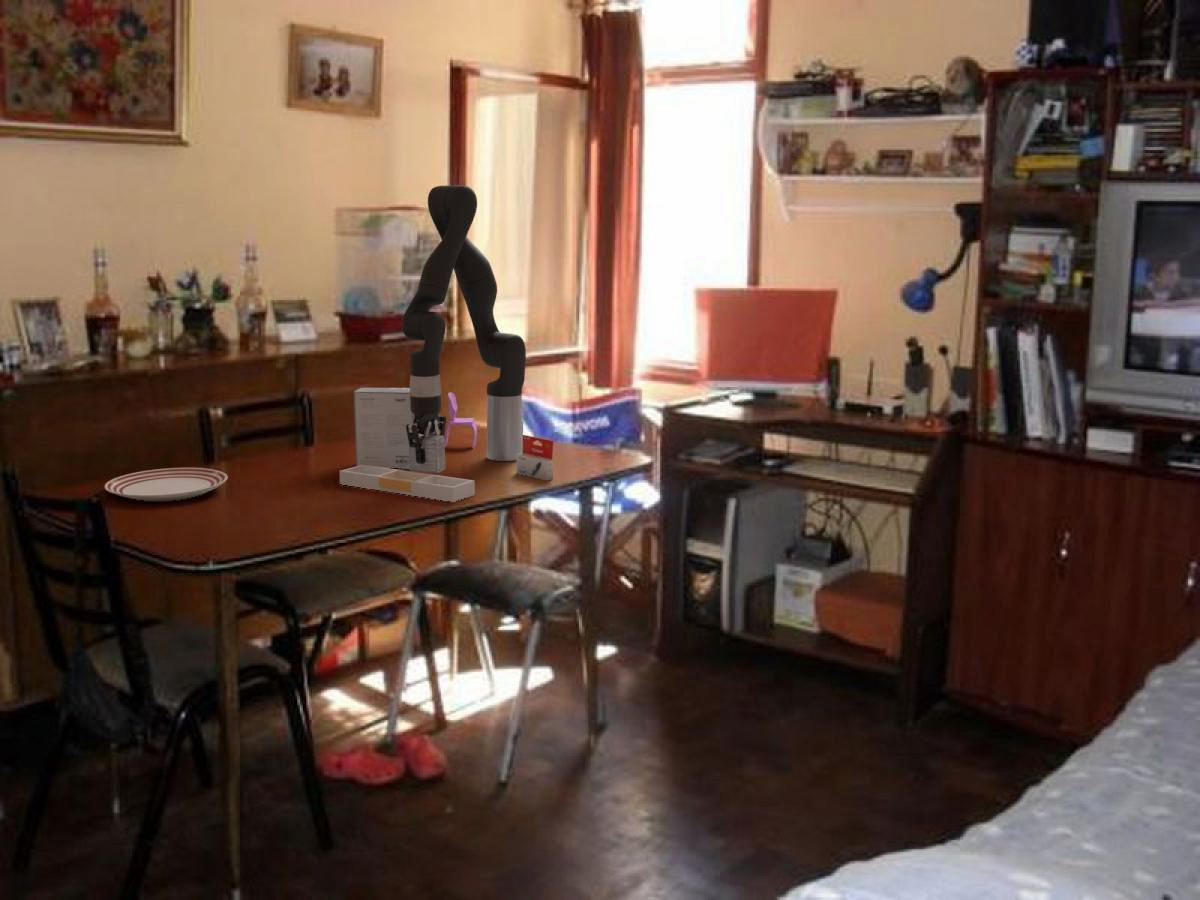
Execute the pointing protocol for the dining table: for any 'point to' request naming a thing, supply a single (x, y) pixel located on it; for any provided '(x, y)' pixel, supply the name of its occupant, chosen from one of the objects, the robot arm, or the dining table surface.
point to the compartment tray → (408, 483)
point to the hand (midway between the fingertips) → (427, 460)
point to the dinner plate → (166, 483)
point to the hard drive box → (382, 427)
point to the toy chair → (458, 421)
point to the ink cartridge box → (536, 458)
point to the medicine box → (429, 455)
